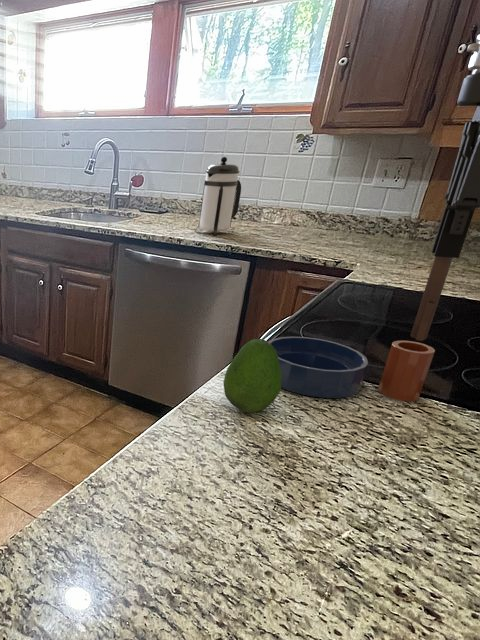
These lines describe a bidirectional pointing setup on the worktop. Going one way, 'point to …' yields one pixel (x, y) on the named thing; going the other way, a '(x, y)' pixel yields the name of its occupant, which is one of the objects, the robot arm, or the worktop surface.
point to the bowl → (319, 367)
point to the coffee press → (220, 197)
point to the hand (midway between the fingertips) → (444, 254)
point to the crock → (405, 370)
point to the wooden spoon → (431, 296)
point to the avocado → (253, 377)
